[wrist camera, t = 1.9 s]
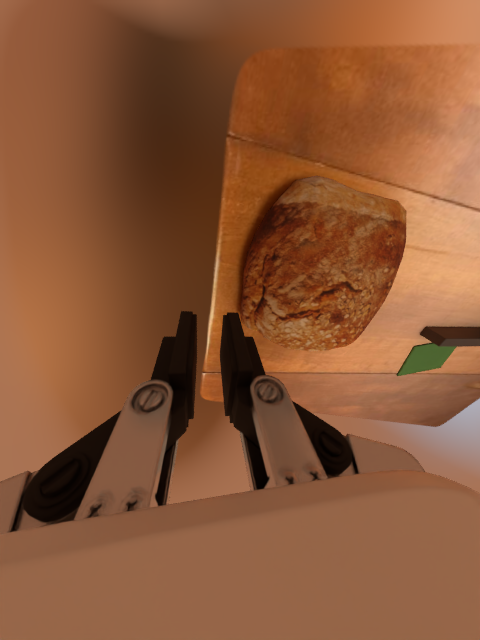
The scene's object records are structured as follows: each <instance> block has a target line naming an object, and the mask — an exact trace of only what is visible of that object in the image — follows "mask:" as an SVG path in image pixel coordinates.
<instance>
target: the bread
mask: <svg viewBox="0 0 480 640" xmlns="http://www.w3.org/2000/svg"><path fill="white" fill-rule="evenodd" d="M405 243H406V210H405V209H404V207H403V206H402V205H401V204H400V203H399V202H398V201H396V200H392V199H388V198H384V197H380V196H376V195H373V194H369V193H363V192H358V191H356V190H353V189H351V188H349V187H347V186H345V185H343V184H340V183H338V182H336V181H334V180H331V179H328V178H324V177H320V176H314V177H309V178H304V179H299V180H295V181H294V182H293V184H292V185H291V186H290V187H289V188H288V189H287V190H286V191H285V192H284V193H283V194H282V195H281V197H280V198H279V199H278V200H277V201H276V203H275V204H274V205H273V206H272V207H271V209H270V210H269V211H268V212H267V214H266V215H265V217H264V219H263V220H262V222H261V224H260V226H259V228H258V230H257V231H256V233H255V235H254V238H253V240H252V243H251V245H250V248H249V250H248V253H247V257H246V262H245V267H244V274H243V292H242V302H241V311H240V314H241V321H242V323H243V324H245V325H246V326H247V327H248V328H250V329H252V330H255V331H259V332H260V333H261V334H262V336H264V337H265V338H267V339H268V340H270V341H272V342H274V343H276V344H278V345H281V346H283V347H286V348H290V349H295V350H304V351H323V350H330V349H334V348H338V347H345V346H347V345H349V344H351V343H352V342H354V341H355V340H356V339H357V338H358V337H359V336H360V335H361V333H362V332H363V331H364V330H365V328H366V327H367V325H368V324H369V323H370V321H371V320H372V318H373V317H374V316H375V314H376V313H377V311H378V310H379V308H380V307H381V305H382V304H383V302H384V301H385V299H386V297H387V295H388V293H389V291H390V289H391V287H392V284H393V282H394V279H395V276H396V274H397V271H398V268H399V265H400V263H401V260H402V257H403V252H404V248H405Z"/></svg>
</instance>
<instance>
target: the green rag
mask: <svg viewBox="0 0 480 640" xmlns="http://www.w3.org/2000/svg"><path fill="white" fill-rule="evenodd" d="M456 347H457V346H450V347H439V346H437V345H436V344H434V343H429V344H423V345H418V346H414V347H413V349H412V350H411V352H410V354H409V355H408V357H407V359H406V360H405V362H404V364H403V365H402V367H401V369H400V370H399V372H398V374H397V376H401V375H406V374H411V373H416V372H421V371H426V370H431V369H436V368H440V367H441V366H442V365H443V364H444V362H445V361H446V360H447V358H448V357H449V356H450V355H451V353H452V352H453V351H454V349H455V348H456Z"/></svg>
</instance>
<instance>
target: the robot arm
mask: <svg viewBox="0 0 480 640" xmlns="http://www.w3.org/2000/svg"><path fill="white" fill-rule="evenodd" d="M196 363H197V315H196V314H193V313H192V312H187V311H185V312H184V311H182V312H181V315H180V320H179V324H178V329H177V334H176V337H164V338H163V340H162V344H161V347H160V351H159V354H158V357H157V360H156V364H155V367H154V371H153V374H152V377H151V380H149V381H146V382H143V383H141V384H140V385H138V386H136V387H135V388H134V389H133V390H132V391H131V393H130V394H129V396H128V397H127V400H126V402H125V404H124V407H123V409H122V410H121V411H120V412H118V413H117V414H116V415H114V416H113V417H111V418H110V419H108V420H107V421H106V422H104V423H103V424H101V425H100V426H98V427H97V428H95V429H94V430H93V431H91V432H90V433H88V434H87V435H85V436H84V437H83V438H81V439H80V440H78V441H77V442H75V443H74V444H73V445H71V446H70V447H68V448H67V449H65V450H64V451H62V452H61V453H60V454H58V455H57V456H55V457H54V458H52V460H50V461H49V462H48V463H46V464H45V465H44V466H43V467H42V468H41V469H40V470H38V471H35V472H33V473H31V472H29V471H26V472H24V473H21V474H19V475H16V476H13V477H11V478H8V479H6V480H4V481H1V482H0V640H480V493H478V492H477V491H475V490H472V489H471V488H469V487H467V486H464V485H462V484H460V483H457V482H455V481H452V480H449V479H447V478H444V477H441V476H437V475H434V474H430V473H427V472H425V471H424V469H423V468H422V466H421V465H420V463H419V462H418V461H417V460H416V459H415V458H414V457H413V456H412V455H411V454H410V453H408V452H407V451H405V450H404V449H402V448H399V447H397V446H393V445H389V444H386V443H381V442H378V441H374V440H370V439H366V438H362V437H358V436H354V435H350V434H347V435H346V436H344V435H342V434H341V433H340V432H339V431H338V430H336V429H335V428H334V427H332V426H330V425H329V424H327V423H326V422H324V421H323V420H321V419H319V418H318V417H317V416H315V415H314V414H312V413H310V412H309V411H307V410H306V409H304V408H303V407H301V406H300V405H298V404H296V403H295V402H293V401H292V400H291V398H290V396H289V394H288V391H287V389H286V387H285V386H284V384H283V383H282V382H281V381H280V380H278V379H277V378H275V377H272V376H269V375H265V372H264V369H263V366H262V363H261V360H260V357H259V354H258V351H257V348H256V345H255V342H254V339H253V337H245V336H244V333H243V329H242V325H241V322H240V318H239V314H238V313H227V315H223V325H222V337H221V348H220V363H221V374H222V386H223V397H224V408H225V416H230V423H233V424H234V427H235V428H236V429H237V430H239V431H240V437H241V442H242V447H243V453H244V458H245V463H246V469H247V474H248V480H249V485H250V491H248V492H242V493H236V494H230V495H223V496H218V497H212V498H206V499H200V500H193V501H187V502H181V503H175V504H169V505H168V503H169V498H170V491H171V485H172V478H173V472H174V465H175V459H176V452H177V445H178V439H179V438H180V437H181V436H182V435H183V434H184V433H185V431H186V428H187V427H188V421H189V419H193V418H194V400H195V381H196Z"/></svg>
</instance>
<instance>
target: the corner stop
mask: <svg viewBox="0 0 480 640" xmlns="http://www.w3.org/2000/svg"><path fill="white" fill-rule="evenodd" d="M420 335H422V336H423V337H425V338H426V339H428V340H430V341H431V342H433V343H434V344H436V345H437V346H439V347H450V346H480V328H477V327H425V329H424V330H423V331H422V332H421V334H420Z"/></svg>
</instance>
